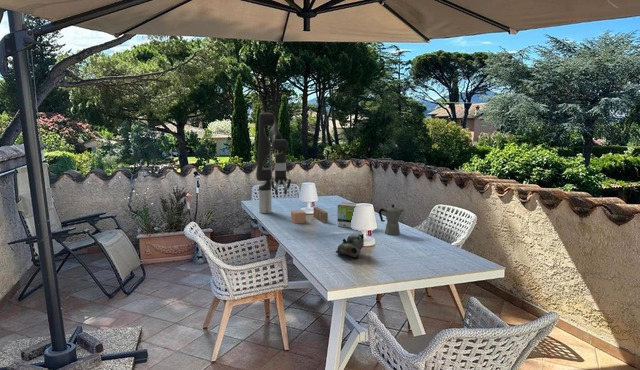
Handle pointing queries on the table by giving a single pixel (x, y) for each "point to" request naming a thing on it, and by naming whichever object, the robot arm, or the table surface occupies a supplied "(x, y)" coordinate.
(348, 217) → the tea box
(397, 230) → the coffeepot
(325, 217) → the walnut board
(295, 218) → the terracotta block
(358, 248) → the dark binoculars
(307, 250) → the table surface
